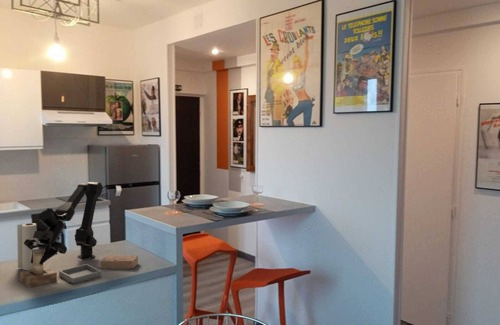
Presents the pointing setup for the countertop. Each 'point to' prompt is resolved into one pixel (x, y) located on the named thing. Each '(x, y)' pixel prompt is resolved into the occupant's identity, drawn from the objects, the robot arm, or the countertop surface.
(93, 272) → the tray
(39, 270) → the pin
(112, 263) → the brick
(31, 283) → the socket block
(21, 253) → the paper towel roll
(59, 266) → the countertop surface
